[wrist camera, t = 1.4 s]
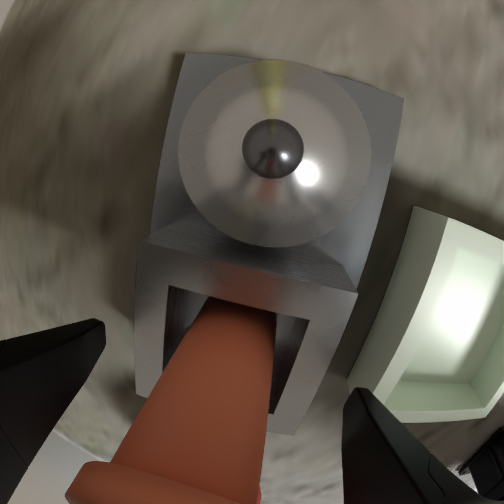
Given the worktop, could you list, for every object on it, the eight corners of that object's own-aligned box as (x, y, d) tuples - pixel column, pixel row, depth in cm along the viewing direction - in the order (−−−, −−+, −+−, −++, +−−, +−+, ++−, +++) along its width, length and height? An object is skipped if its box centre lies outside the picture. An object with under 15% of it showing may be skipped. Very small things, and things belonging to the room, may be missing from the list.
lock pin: (298, 289, 10) (305, 549, 2) (273, 368, 12) (247, 573, 3) (198, 265, 11) (35, 460, 2) (187, 346, 12) (90, 525, 3)
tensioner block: (394, 104, 9) (435, 81, 6) (309, 384, 13) (311, 439, 9) (194, 61, 9) (159, 25, 6) (151, 344, 13) (119, 388, 10)
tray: (530, 255, 10) (562, 272, 7) (467, 388, 12) (485, 417, 9) (413, 205, 10) (448, 217, 7) (346, 379, 13) (355, 420, 10)
